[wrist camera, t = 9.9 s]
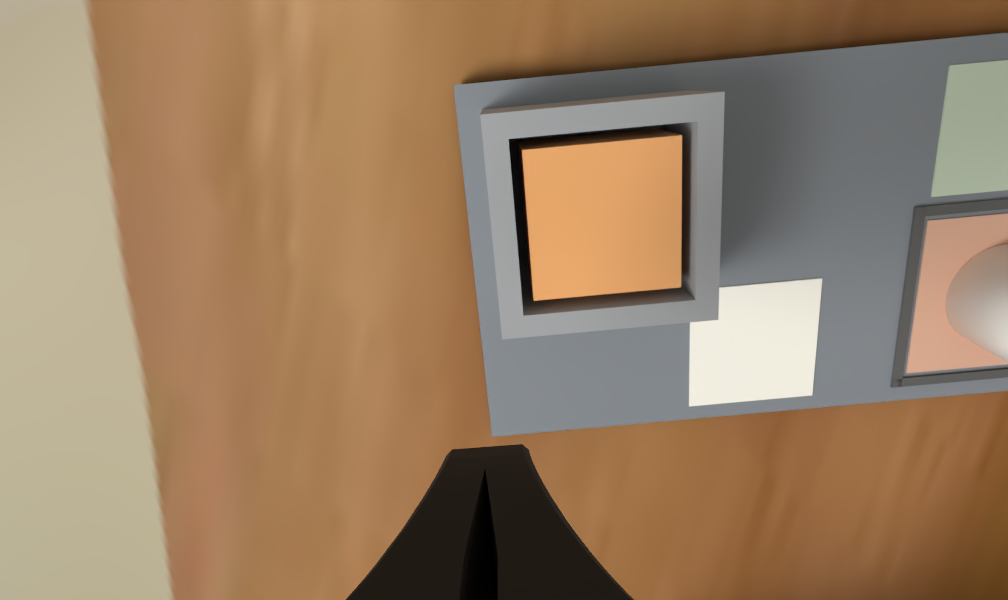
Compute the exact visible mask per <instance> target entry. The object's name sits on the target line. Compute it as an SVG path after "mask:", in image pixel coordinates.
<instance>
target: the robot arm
mask: <svg viewBox="0 0 1008 600" xmlns="http://www.w3.org/2000/svg"><path fill="white" fill-rule="evenodd" d="M346 600H634V599H633V598H632V597H630V596H629V595H628V594H627V593H626V591H625V590H624V589H623V588H622V587H621V586H620V585H619V584H618V583H617V582H616V581H615V580H614V579H613V578H612V577H611V575H610V574H609V573H608V572H607V571H606V570H605V569H604V568H603V566H602V565H601V564H600V563H599V562H598V561H597V559H596V558H595V557H594V556H593V555H592V553H591V552H590V551H589V550H588V548H587V547H586V546H585V544H584V543H583V542H582V541H581V539H580V538H579V537H578V535H577V534H576V533H575V531H574V530H573V529H572V527H571V526H570V524H569V523H568V522H567V520H566V519H565V517H564V516H563V514H562V513H561V511H560V510H559V508H558V507H557V505H556V504H555V502H554V501H553V499H552V497H551V496H550V494H549V492H548V491H547V489H546V487H545V486H544V484H543V482H542V480H541V478H540V476H539V475H538V472H537V470H536V468H535V466H534V464H533V462H532V459H531V456H530V453H529V450H528V449H527V448H526V447H525V446H524V445H522V444H520V445H507V446H493V447H480V448H467V449H453V450H451V452H450V453H449V454H448V455H447V456H446V458H445V460H444V462H443V464H442V466H441V468H440V470H439V471H438V473H437V475H436V477H435V479H434V480H433V482H432V484H431V485H430V487H429V489H428V491H427V492H426V494H425V496H424V497H423V499H422V500H421V502H420V503H419V505H418V506H417V508H416V509H415V511H414V512H413V514H412V516H411V517H410V519H409V520H408V522H407V523H406V525H405V526H404V528H403V529H402V530H401V532H400V533H399V534H398V536H397V537H396V538H395V540H394V541H393V542H392V544H391V545H390V546H389V548H388V549H387V550H386V552H385V553H384V554H383V556H382V557H381V558H380V560H379V561H378V562H377V564H376V565H375V566H374V567H373V569H372V570H371V571H370V572H369V573H368V575H367V576H366V577H365V578H364V580H363V581H362V582H361V583H360V584H359V585H358V586H357V588H356V589H355V590H354V591H353V592H352V593H351V594H350V595H349V597H348V598H347V599H346Z"/></svg>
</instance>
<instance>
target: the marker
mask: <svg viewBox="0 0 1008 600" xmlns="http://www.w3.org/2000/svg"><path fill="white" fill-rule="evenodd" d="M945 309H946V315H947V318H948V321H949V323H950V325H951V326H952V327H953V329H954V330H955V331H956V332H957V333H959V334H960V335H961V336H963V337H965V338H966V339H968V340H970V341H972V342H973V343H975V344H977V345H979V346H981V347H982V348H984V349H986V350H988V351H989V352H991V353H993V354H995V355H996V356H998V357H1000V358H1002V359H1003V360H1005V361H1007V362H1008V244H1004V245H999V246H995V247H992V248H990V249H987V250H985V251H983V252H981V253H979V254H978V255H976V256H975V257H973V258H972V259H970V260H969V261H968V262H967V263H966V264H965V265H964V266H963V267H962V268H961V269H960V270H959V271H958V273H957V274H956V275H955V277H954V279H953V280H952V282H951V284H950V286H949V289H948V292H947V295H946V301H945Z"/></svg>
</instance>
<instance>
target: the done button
mask: <svg viewBox="0 0 1008 600" xmlns="http://www.w3.org/2000/svg"><path fill="white" fill-rule="evenodd" d="M518 151H519V164H520V177H521V189H522V202H523V214H524V227H525V239H526V252H527V264H528V275H529V280H530V285H531V290H532V295H533V300H534V301H537V300H548V299H559V298H570V297H581V296H592V295H603V294H614V293H625V292H636V291H647V290H658V289H669V288H680V287H681V245H682V135H680V134H676V133H672V132H668V131H665V130H661V129H657V128H654V129H644V130H633V131H622V132H612V133H601V134H590V135H580V136H569V137H558V138H548V139H537V140H526V141H518Z"/></svg>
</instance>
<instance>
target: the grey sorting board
mask: <svg viewBox="0 0 1008 600" xmlns="http://www.w3.org/2000/svg"><path fill="white" fill-rule="evenodd" d="M454 94H455V103H456V113H457V122H458V131H459V140H460V149H461V158H462V167H463V176H464V185H465V194H466V203H467V212H468V222H469V231H470V240H471V249H472V258H473V267H474V276H475V285H476V294H477V303H478V312H479V321H480V331H481V340H482V349H483V358H484V367H485V376H486V385H487V394H488V403H489V412H490V421H491V430H492V437H494V436H505V435H517V434H528V433H539V432H550V431H561V430H573V429H584V428H595V427H606V426H617V425H628V424H640V423H651V422H662V421H673V420H684V419H696V418H707V417H718V416H729V415H740V414H752V413H763V412H774V411H785V410H796V409H808V408H819V407H830V406H841V405H852V404H863V403H875V402H886V401H897V400H908V399H919V398H931V397H942V396H953V395H964V394H975V393H987V392H998V391H1008V362H1007V361H1005V360H1003V359H1002V358H1000V357H998V356H996V355H995V354H993V353H991V352H989V351H988V350H986V349H984V348H982V347H981V346H979V345H977V344H975V343H973V342H972V341H970V340H968V339H966V338H965V337H963V336H961V335H960V334H959V333H957V332H956V331H955V330H954V329H953V327H952V326H951V325H950V323H949V321H948V318H947V315H946V309H945V301H946V295H947V292H948V289H949V286H950V284H951V282H952V280H953V279H954V277H955V275H956V274H957V273H958V271H959V270H960V269H961V268H962V267H963V266H964V265H965V264H966V263H967V262H968V261H969V260H970V259H972V258H973V257H975V256H976V255H978V254H979V253H981V252H983V251H985V250H987V249H990V248H992V247H995V246H999V245H1004V244H1008V33H998V34H987V35H977V36H966V37H956V38H945V39H935V40H924V41H914V42H903V43H893V44H882V45H871V46H861V47H850V48H840V49H829V50H819V51H808V52H798V53H787V54H776V55H766V56H755V57H745V58H734V59H724V60H713V61H703V62H692V63H682V64H671V65H660V66H650V67H639V68H629V69H618V70H608V71H597V72H587V73H576V74H566V75H555V76H544V77H534V78H523V79H513V80H502V81H492V82H481V83H471V84H460V85H454ZM654 128H657V129H661V130H665V131H668V132H672V133H676V134H680V135H682V245H681V287H680V288H669V289H658V290H647V291H636V292H625V293H614V294H603V295H592V296H581V297H570V298H559V299H548V300H537V301H534V300H533V295H532V290H531V285H530V280H529V275H528V264H527V252H526V239H525V227H524V214H523V202H522V189H521V177H520V164H519V151H518V141H526V140H537V139H548V138H558V137H569V136H580V135H590V134H601V133H612V132H622V131H633V130H644V129H654Z"/></svg>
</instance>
